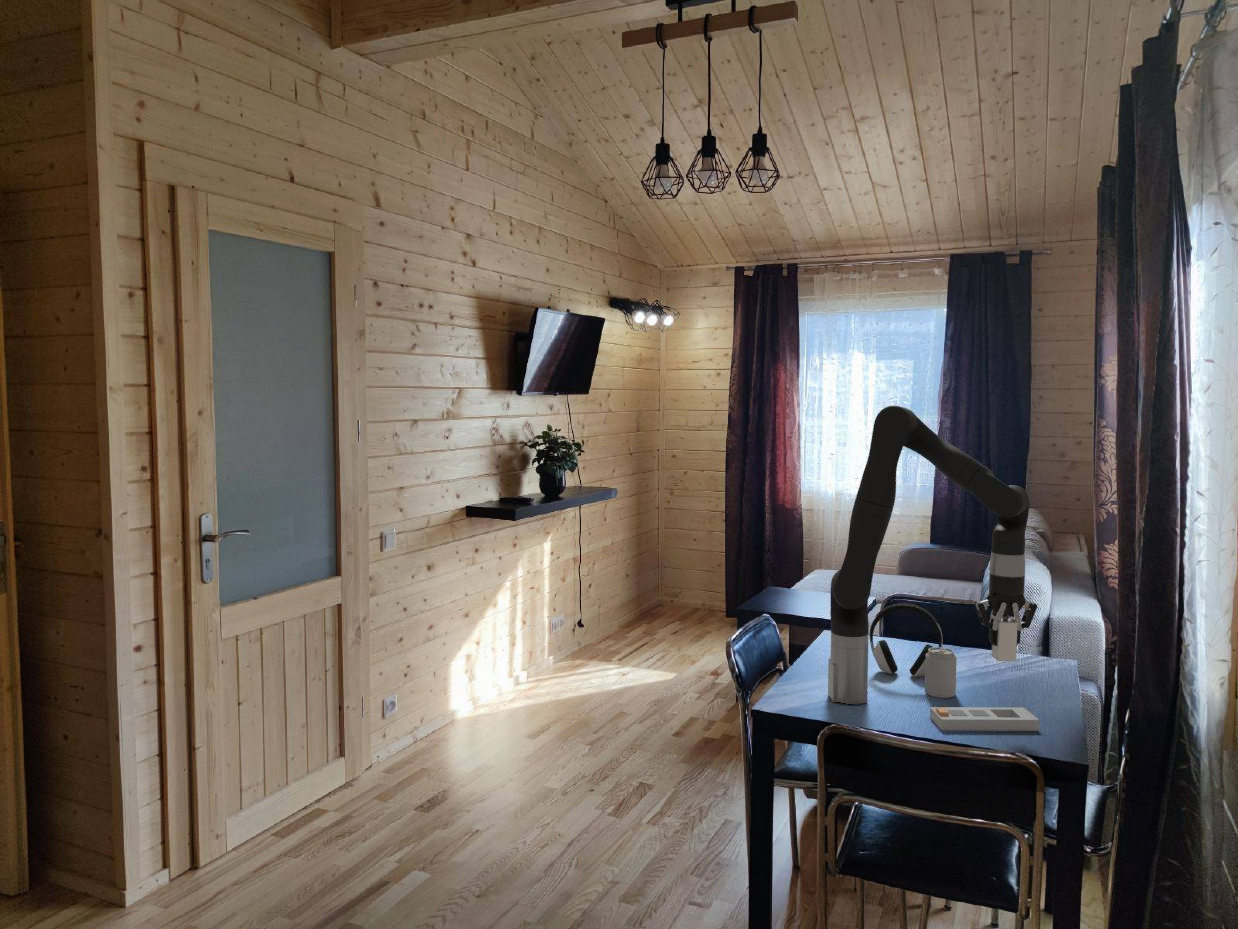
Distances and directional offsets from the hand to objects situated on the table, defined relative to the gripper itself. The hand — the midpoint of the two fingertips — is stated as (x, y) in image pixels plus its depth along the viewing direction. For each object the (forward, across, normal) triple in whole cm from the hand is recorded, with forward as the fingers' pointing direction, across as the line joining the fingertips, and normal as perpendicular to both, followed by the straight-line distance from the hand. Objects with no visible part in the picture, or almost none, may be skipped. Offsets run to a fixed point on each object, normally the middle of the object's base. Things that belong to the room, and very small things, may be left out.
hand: (1004, 645), depth 208 cm
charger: (+3, 0, 0) cm, 3 cm away
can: (+19, -8, +20) cm, 29 cm away
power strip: (+19, -5, -1) cm, 20 cm away
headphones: (+19, -12, +37) cm, 43 cm away
